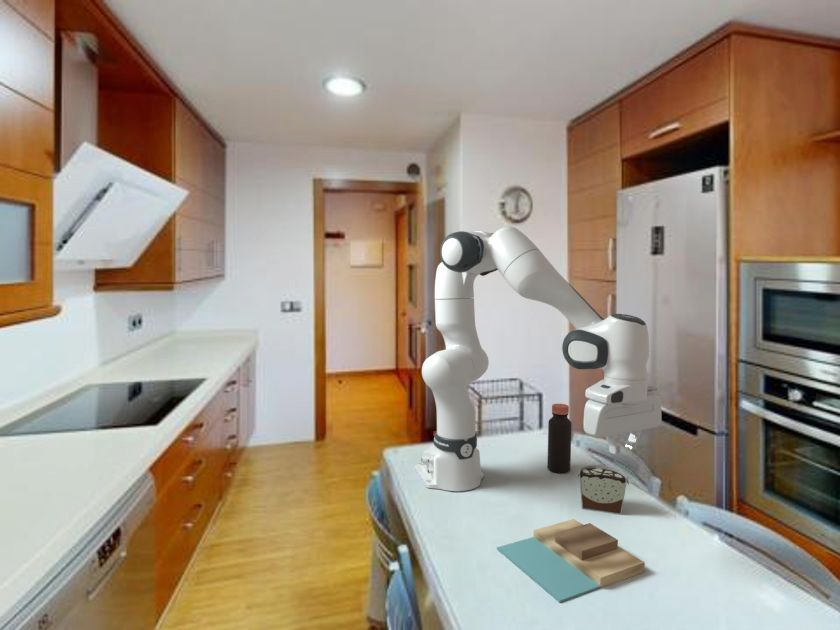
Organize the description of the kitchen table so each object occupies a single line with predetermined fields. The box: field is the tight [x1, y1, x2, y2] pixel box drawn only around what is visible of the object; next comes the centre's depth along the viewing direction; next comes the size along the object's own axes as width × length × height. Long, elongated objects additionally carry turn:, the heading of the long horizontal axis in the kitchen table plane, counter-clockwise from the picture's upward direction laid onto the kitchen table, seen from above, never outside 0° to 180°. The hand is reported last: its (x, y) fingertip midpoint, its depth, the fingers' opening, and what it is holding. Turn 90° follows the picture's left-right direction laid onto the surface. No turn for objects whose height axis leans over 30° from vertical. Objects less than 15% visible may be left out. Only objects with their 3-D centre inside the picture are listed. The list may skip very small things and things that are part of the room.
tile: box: [555, 522, 619, 560], centre depth 108 cm, size 8×10×2 cm
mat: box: [496, 536, 601, 603], centre depth 104 cm, size 20×10×1 cm, turn 26°
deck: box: [532, 518, 646, 589], centre depth 109 cm, size 20×12×2 cm, turn 26°
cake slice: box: [576, 464, 630, 516], centre depth 131 cm, size 12×6×10 cm, turn 71°
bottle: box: [547, 403, 573, 474], centre depth 155 cm, size 7×7×20 cm
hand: (622, 451), depth 111 cm, fingers open, 3 cm apart
